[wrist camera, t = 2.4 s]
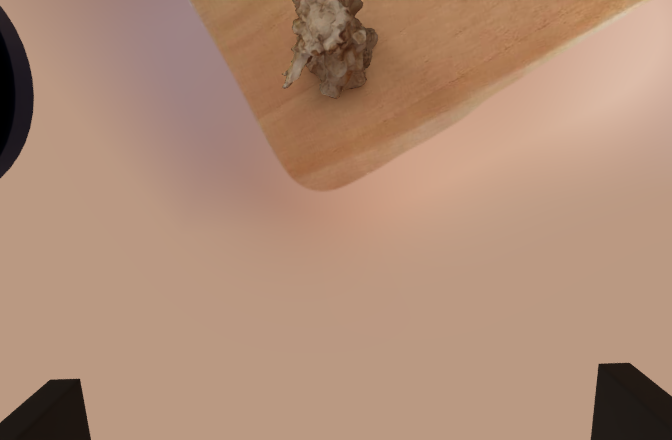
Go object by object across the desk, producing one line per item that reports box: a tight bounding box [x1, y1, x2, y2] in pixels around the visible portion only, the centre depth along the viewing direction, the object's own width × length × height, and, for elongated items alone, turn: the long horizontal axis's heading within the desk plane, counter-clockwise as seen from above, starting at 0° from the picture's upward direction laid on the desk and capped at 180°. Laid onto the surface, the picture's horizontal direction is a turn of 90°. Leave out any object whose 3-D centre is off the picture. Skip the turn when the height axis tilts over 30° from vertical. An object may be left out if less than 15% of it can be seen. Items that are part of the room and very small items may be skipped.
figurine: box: [282, 0, 378, 99], centre depth 27 cm, size 7×6×15 cm
